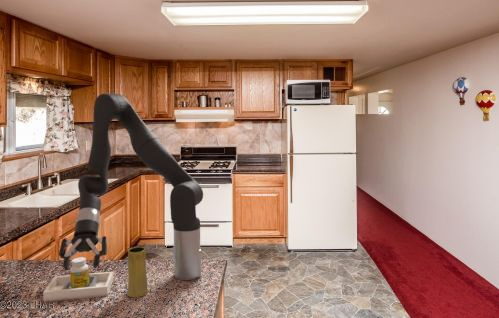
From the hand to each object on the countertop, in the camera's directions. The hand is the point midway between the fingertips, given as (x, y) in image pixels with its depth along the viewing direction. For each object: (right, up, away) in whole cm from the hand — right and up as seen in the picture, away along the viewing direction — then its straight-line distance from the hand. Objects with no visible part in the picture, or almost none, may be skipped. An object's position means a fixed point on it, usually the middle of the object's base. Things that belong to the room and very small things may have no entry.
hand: (80, 268), depth 111 cm
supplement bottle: (0, -6, -1) cm, 6 cm away
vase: (+19, -7, -2) cm, 20 cm away
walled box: (0, -7, -1) cm, 7 cm away
